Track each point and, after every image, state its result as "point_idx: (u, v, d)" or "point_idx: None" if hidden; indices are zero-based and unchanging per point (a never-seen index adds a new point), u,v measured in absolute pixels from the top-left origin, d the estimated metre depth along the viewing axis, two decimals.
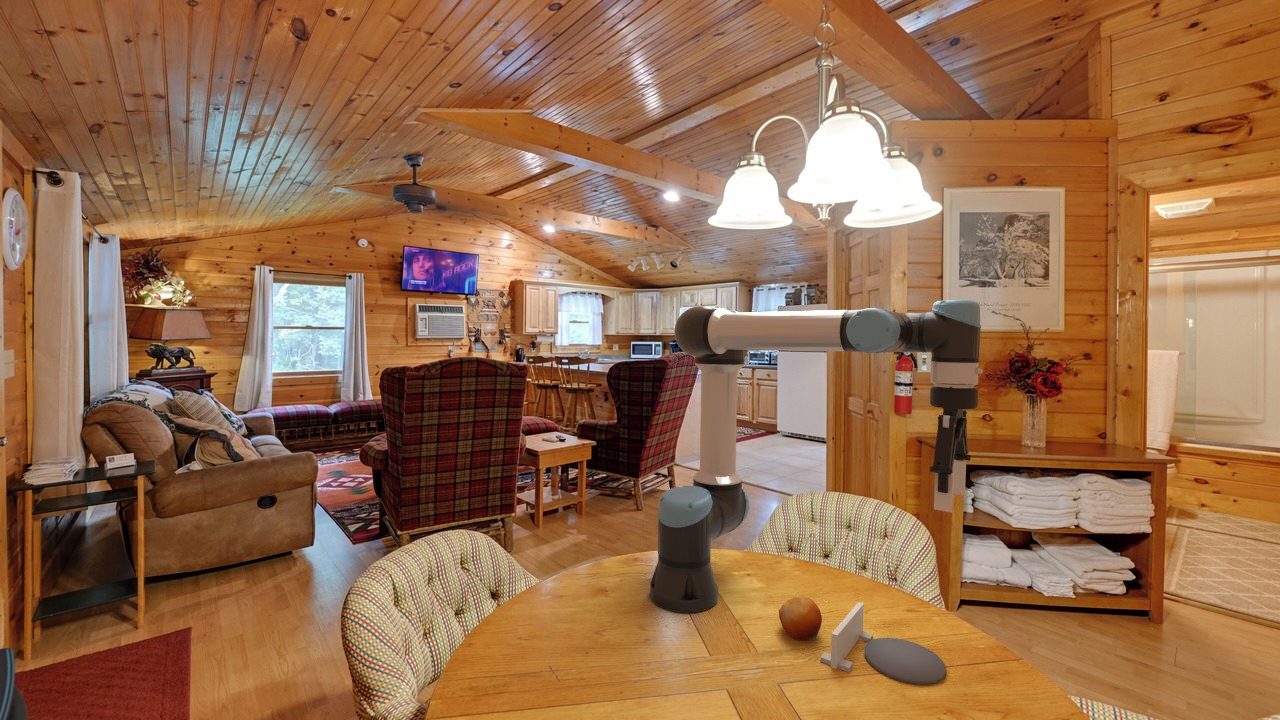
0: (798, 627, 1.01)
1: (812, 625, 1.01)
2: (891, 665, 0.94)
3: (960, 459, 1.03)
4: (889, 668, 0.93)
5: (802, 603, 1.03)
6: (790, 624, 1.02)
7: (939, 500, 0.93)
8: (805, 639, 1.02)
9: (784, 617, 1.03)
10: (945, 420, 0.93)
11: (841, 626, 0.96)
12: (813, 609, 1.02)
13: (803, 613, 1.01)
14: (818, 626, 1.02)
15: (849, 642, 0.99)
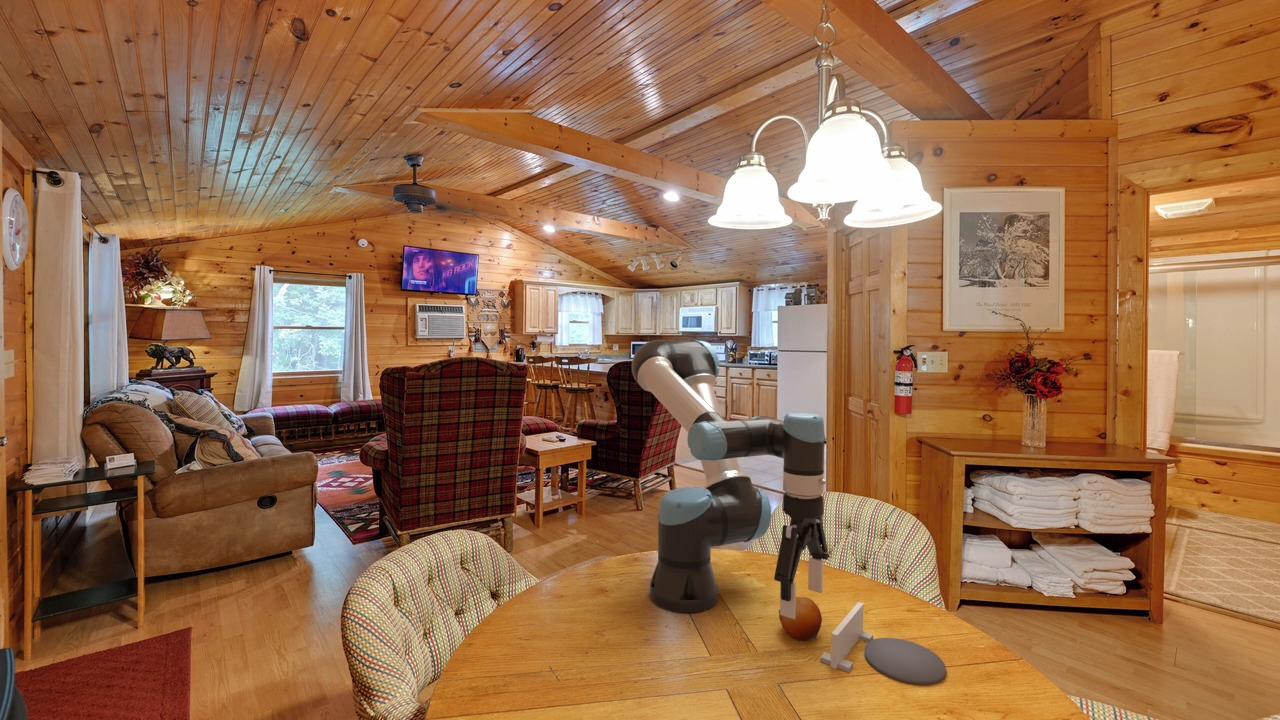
0: (798, 627, 1.01)
1: (812, 625, 1.01)
2: (891, 665, 0.94)
3: (818, 558, 1.10)
4: (889, 668, 0.93)
5: (802, 603, 1.03)
6: (790, 624, 1.02)
7: (784, 606, 0.99)
8: (805, 639, 1.02)
9: (784, 617, 1.03)
10: (788, 531, 0.99)
11: (841, 626, 0.96)
12: (813, 609, 1.02)
13: (803, 613, 1.01)
14: (818, 626, 1.02)
15: (849, 642, 0.99)
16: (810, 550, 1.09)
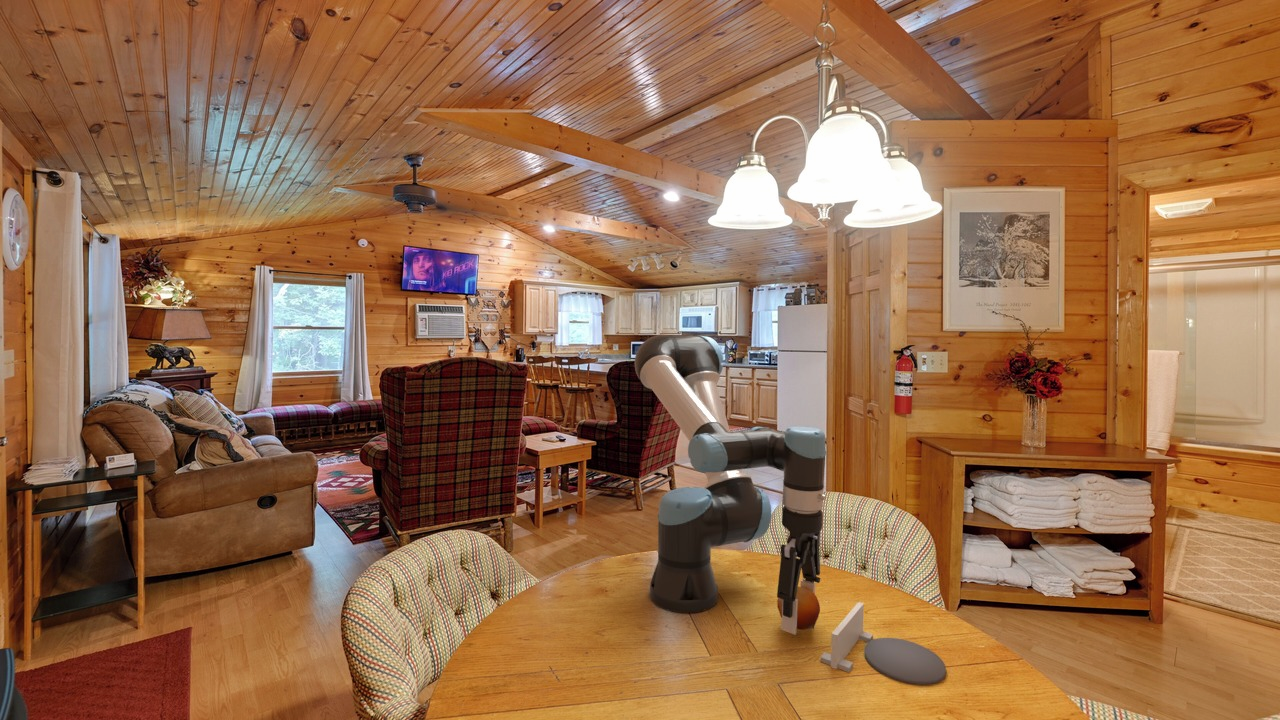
0: None
1: (810, 615, 1.02)
2: (891, 665, 0.94)
3: (810, 581, 1.08)
4: (889, 668, 0.93)
5: (801, 593, 1.04)
6: None
7: (785, 622, 1.02)
8: (803, 628, 1.02)
9: None
10: (786, 552, 0.99)
11: (841, 626, 0.96)
12: (811, 598, 1.03)
13: (802, 603, 1.02)
14: (816, 616, 1.03)
15: (849, 642, 0.99)
16: (803, 570, 1.09)
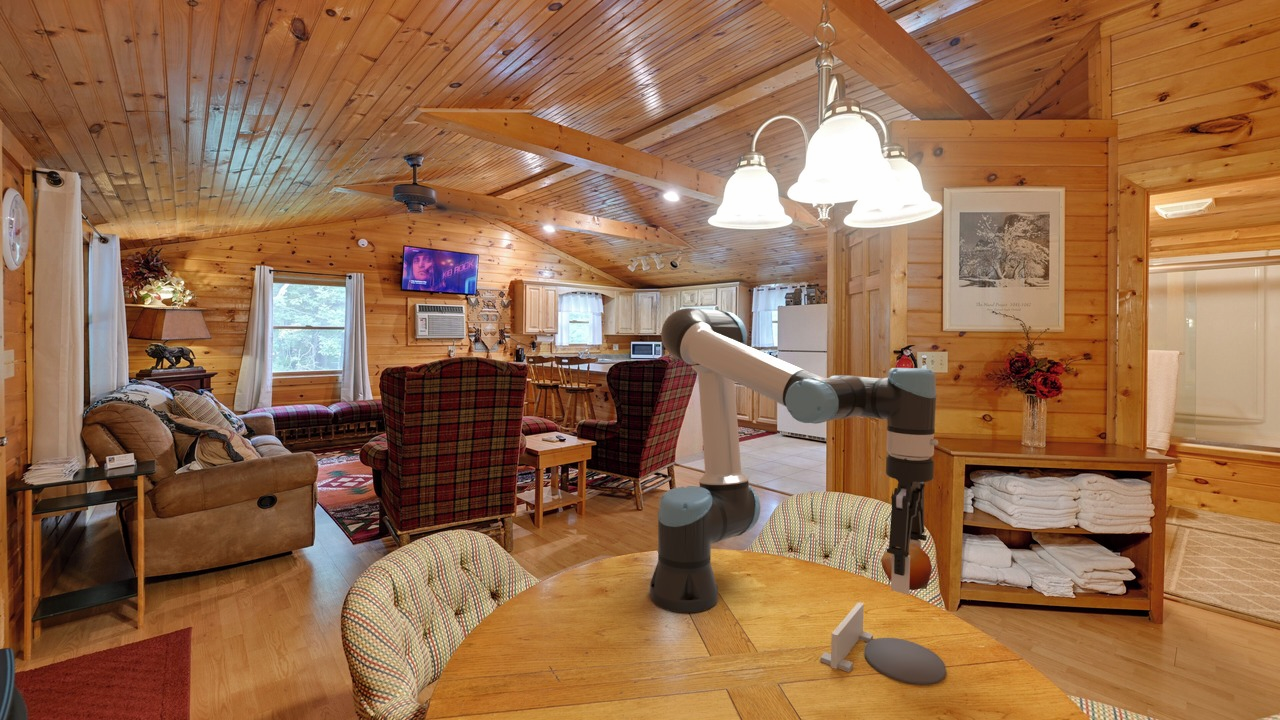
0: None
1: (923, 573, 0.92)
2: (891, 665, 0.94)
3: (915, 539, 0.99)
4: (889, 668, 0.93)
5: (910, 549, 0.94)
6: None
7: (896, 581, 0.92)
8: (915, 588, 0.92)
9: (891, 564, 0.94)
10: (899, 501, 0.90)
11: (841, 626, 0.96)
12: (923, 555, 0.93)
13: (914, 559, 0.92)
14: (929, 574, 0.93)
15: (849, 642, 0.99)
16: None
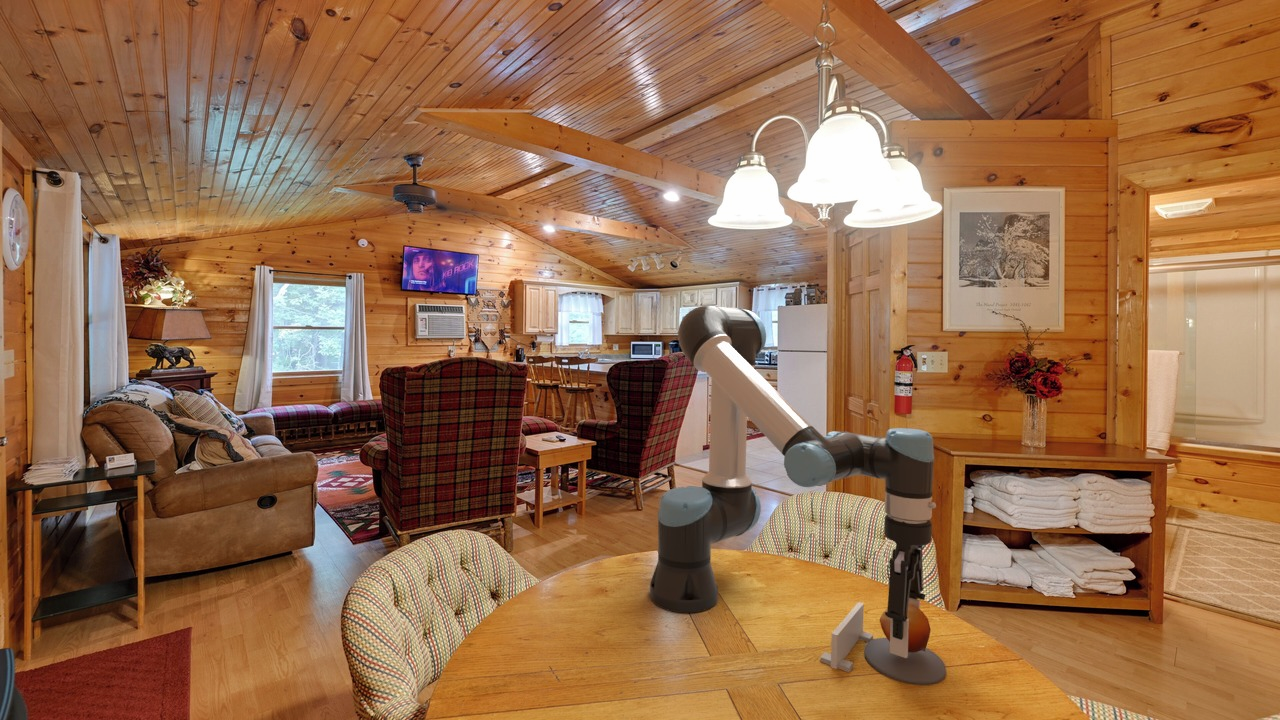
0: None
1: (922, 636, 0.92)
2: (891, 665, 0.94)
3: (914, 598, 0.99)
4: (889, 668, 0.93)
5: (909, 611, 0.94)
6: None
7: (895, 644, 0.93)
8: (914, 651, 0.93)
9: (889, 626, 0.94)
10: (897, 566, 0.90)
11: (841, 626, 0.96)
12: (922, 617, 0.93)
13: (912, 622, 0.92)
14: (928, 637, 0.93)
15: (849, 642, 0.99)
16: None
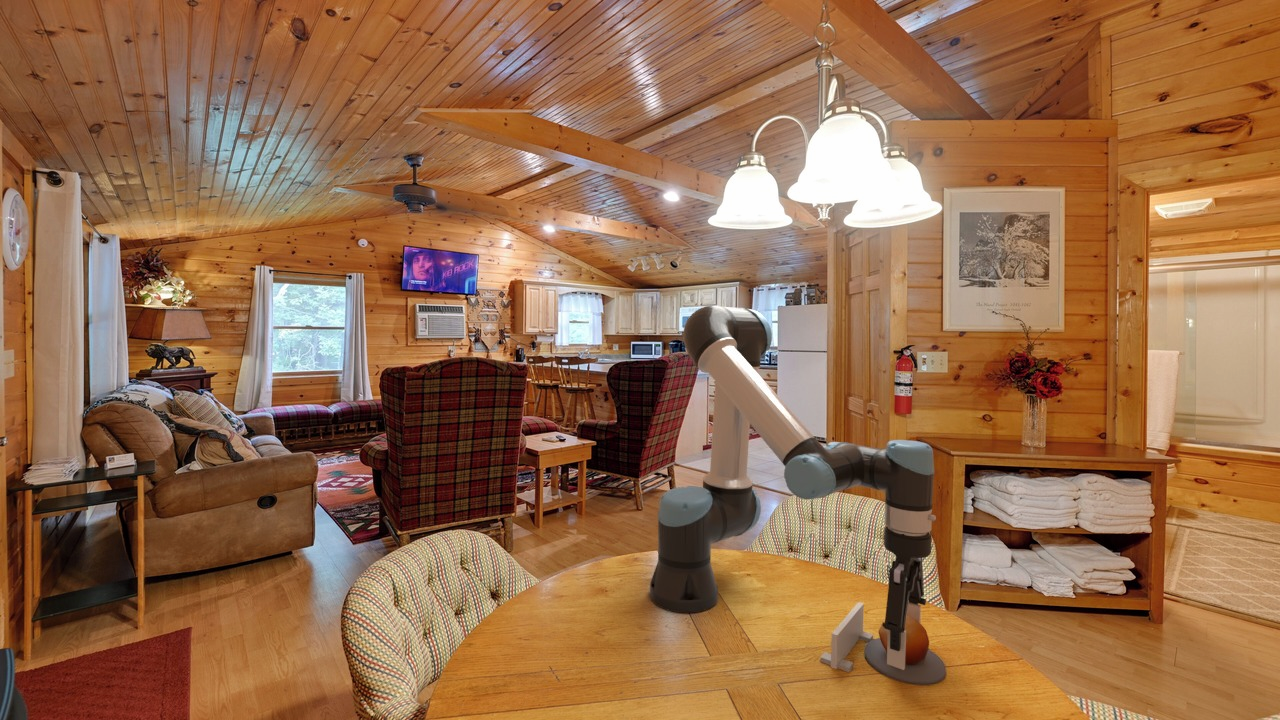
0: (906, 650, 0.92)
1: (920, 648, 0.92)
2: None
3: (915, 603, 1.00)
4: (889, 668, 0.93)
5: (908, 623, 0.95)
6: None
7: (892, 655, 0.92)
8: (913, 663, 0.93)
9: None
10: (896, 576, 0.90)
11: (841, 626, 0.96)
12: (920, 630, 0.94)
13: (911, 635, 0.93)
14: (926, 649, 0.94)
15: (849, 642, 0.99)
16: None
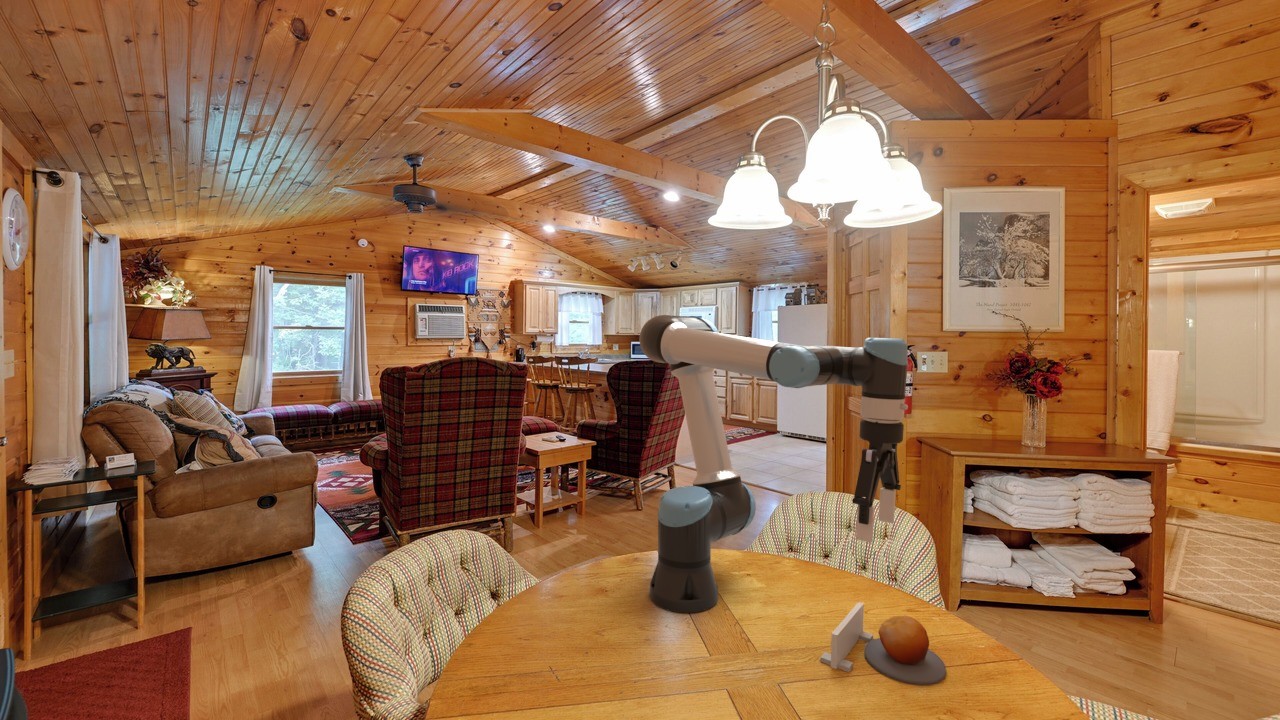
0: (906, 650, 0.92)
1: (920, 648, 0.92)
2: (891, 665, 0.94)
3: (890, 488, 1.07)
4: (889, 668, 0.93)
5: (908, 623, 0.95)
6: (896, 647, 0.93)
7: (860, 530, 0.97)
8: (913, 663, 0.93)
9: (888, 638, 0.95)
10: (868, 454, 0.96)
11: (841, 626, 0.96)
12: (920, 630, 0.94)
13: (911, 635, 0.93)
14: (926, 649, 0.94)
15: (849, 642, 0.99)
16: (883, 480, 1.07)
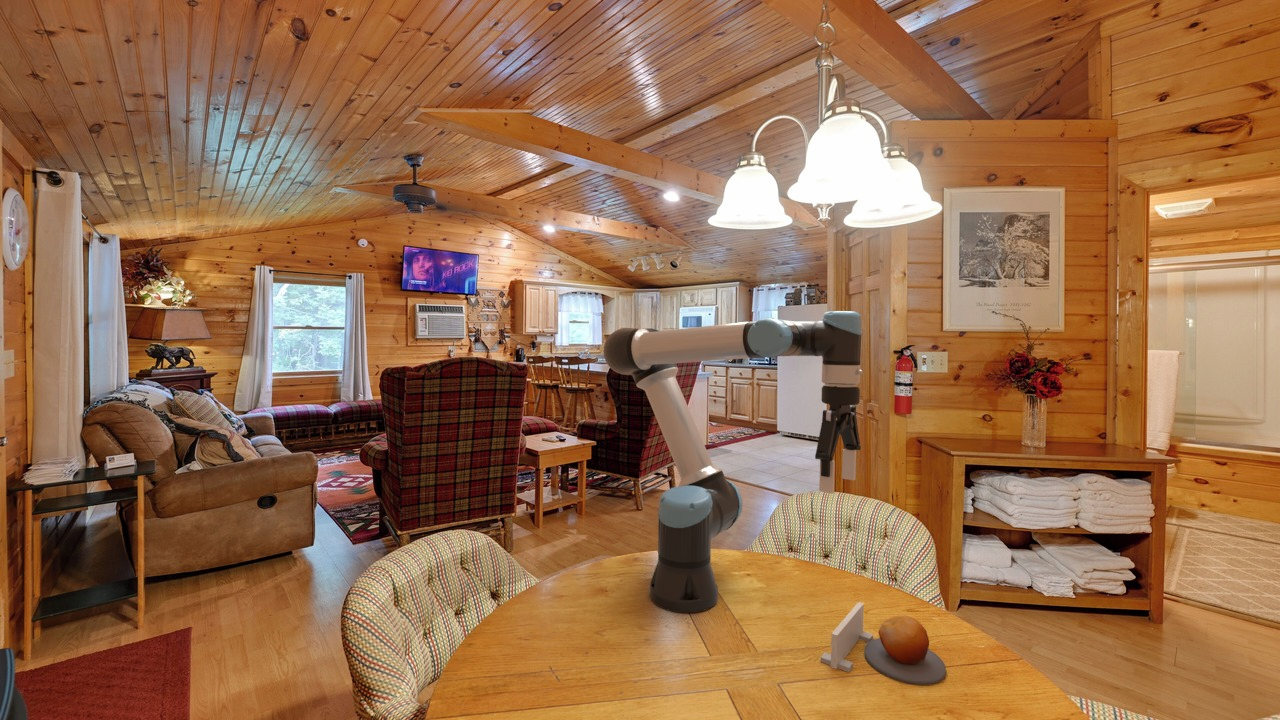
0: (906, 650, 0.92)
1: (920, 648, 0.92)
2: (891, 665, 0.94)
3: (851, 449, 1.19)
4: (889, 668, 0.93)
5: (908, 623, 0.95)
6: (896, 647, 0.93)
7: (823, 483, 1.09)
8: (913, 663, 0.93)
9: (888, 638, 0.95)
10: (828, 414, 1.08)
11: (841, 626, 0.96)
12: (920, 630, 0.94)
13: (911, 635, 0.93)
14: (926, 649, 0.94)
15: (849, 642, 0.99)
16: (844, 441, 1.19)
